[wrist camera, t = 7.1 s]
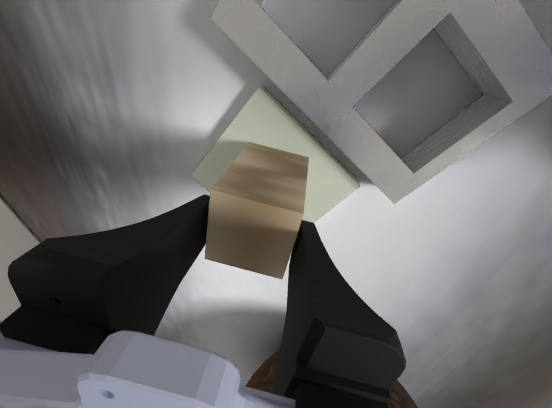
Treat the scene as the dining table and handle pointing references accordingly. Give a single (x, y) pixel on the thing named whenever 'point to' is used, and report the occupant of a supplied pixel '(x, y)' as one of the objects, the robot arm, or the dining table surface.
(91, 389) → the robot arm
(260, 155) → the maple peg
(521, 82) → the white flat frame
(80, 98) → the dining table surface
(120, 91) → the dining table surface
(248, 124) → the ceramic tile
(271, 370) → the glass bottle
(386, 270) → the dining table surface
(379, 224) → the dining table surface
